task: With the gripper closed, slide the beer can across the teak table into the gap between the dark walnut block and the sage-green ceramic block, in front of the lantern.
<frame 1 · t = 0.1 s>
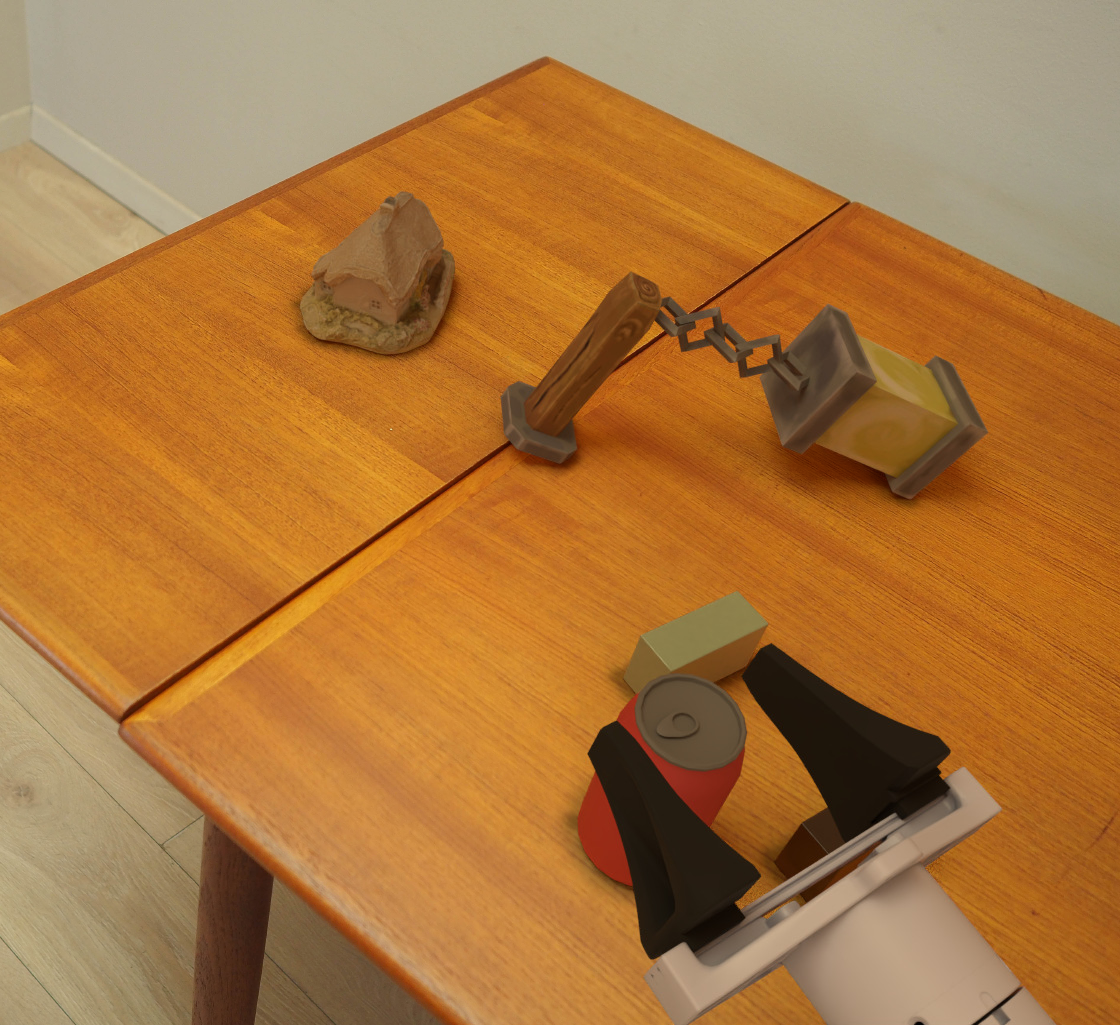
hand: (681, 696, 43), 24 cm above the table, tool horizontal, fingers open, 7 cm apart
walnut block: (841, 852, 66), on the table
beer can: (631, 838, 65), on the table
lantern: (716, 453, 89), on the table
ceramic block: (685, 672, 74), on the table
ceramic model: (379, 307, 97), on the table
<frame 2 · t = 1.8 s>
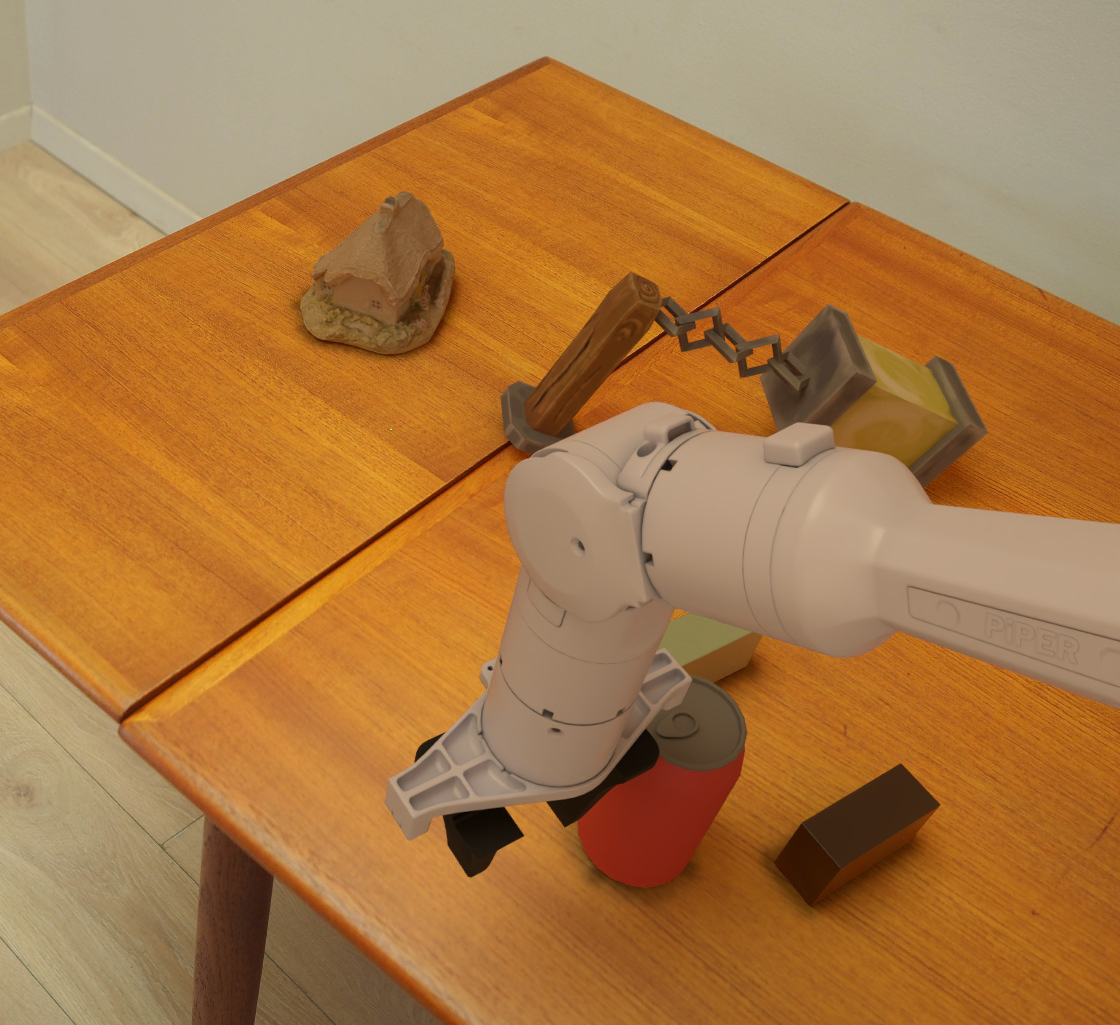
hand: (512, 832, 55), 8 cm above the table, tool pointing down, fingers open, 5 cm apart
nothing on the table moved.
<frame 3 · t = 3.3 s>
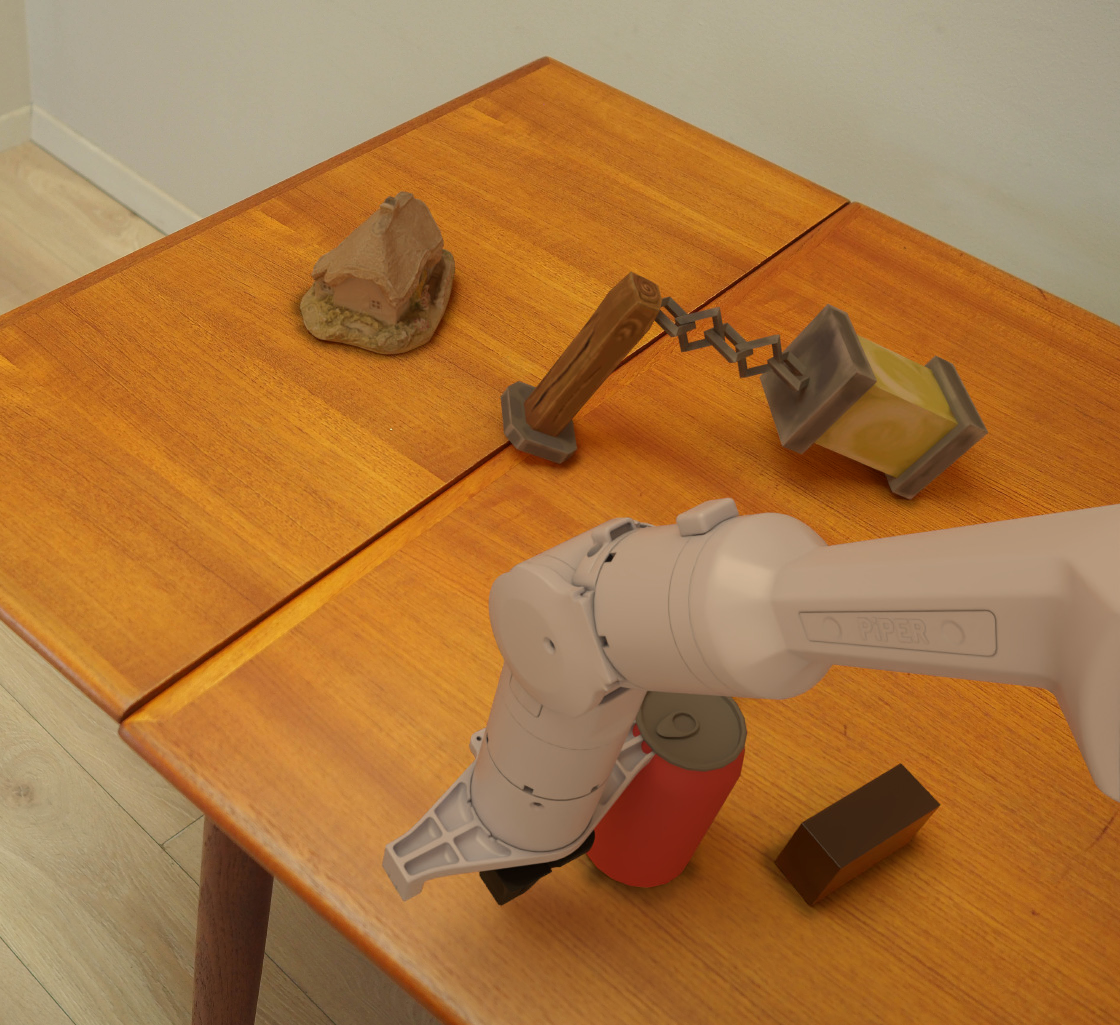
hand: (499, 884, 60), 2 cm above the table, tool pointing down, fingers closed
nothing on the table moved.
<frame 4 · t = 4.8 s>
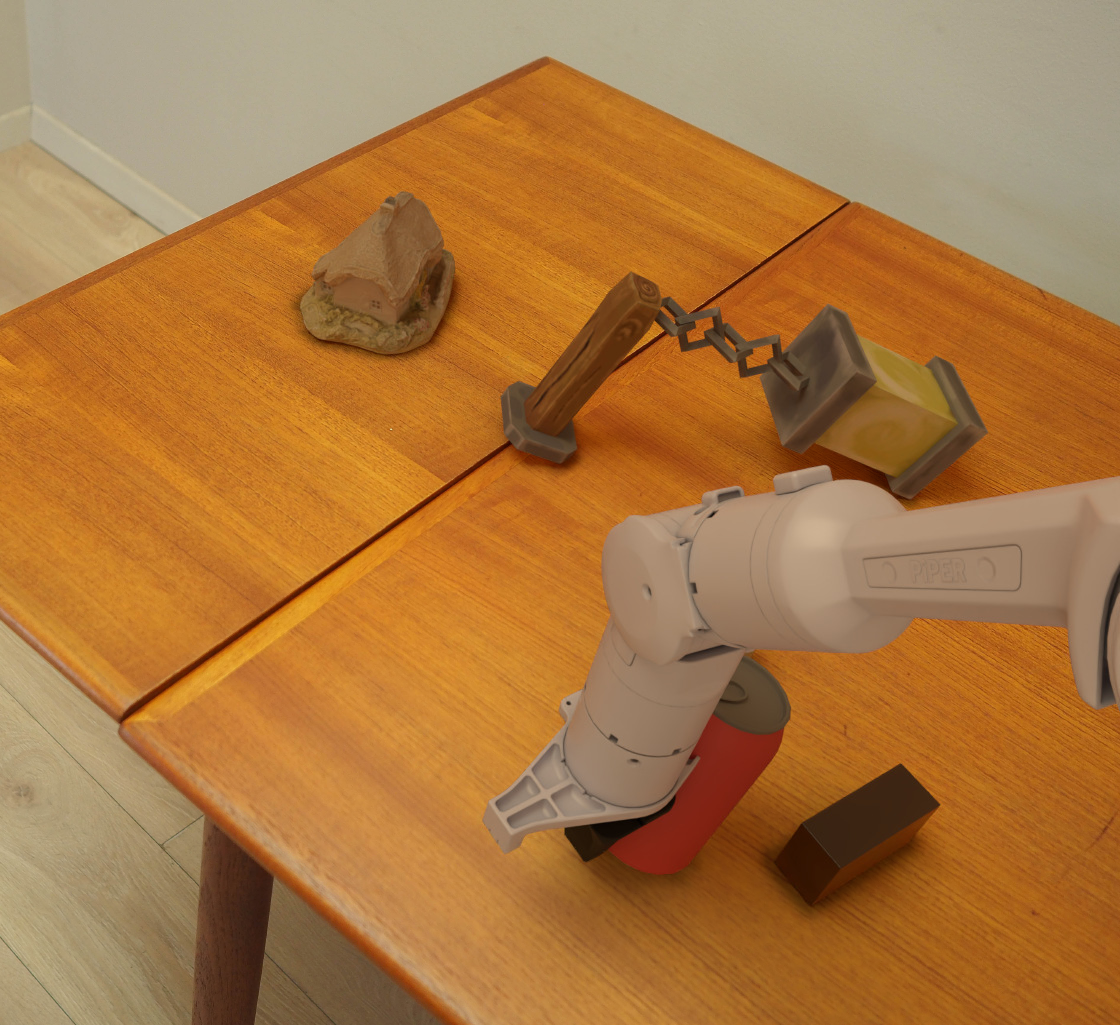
hand: (581, 843, 63), 2 cm above the table, tool pointing down, fingers closed, pressing on beer can
beer can: (635, 831, 65), point 1 cm above the table, touching gripper
everything else where it was.
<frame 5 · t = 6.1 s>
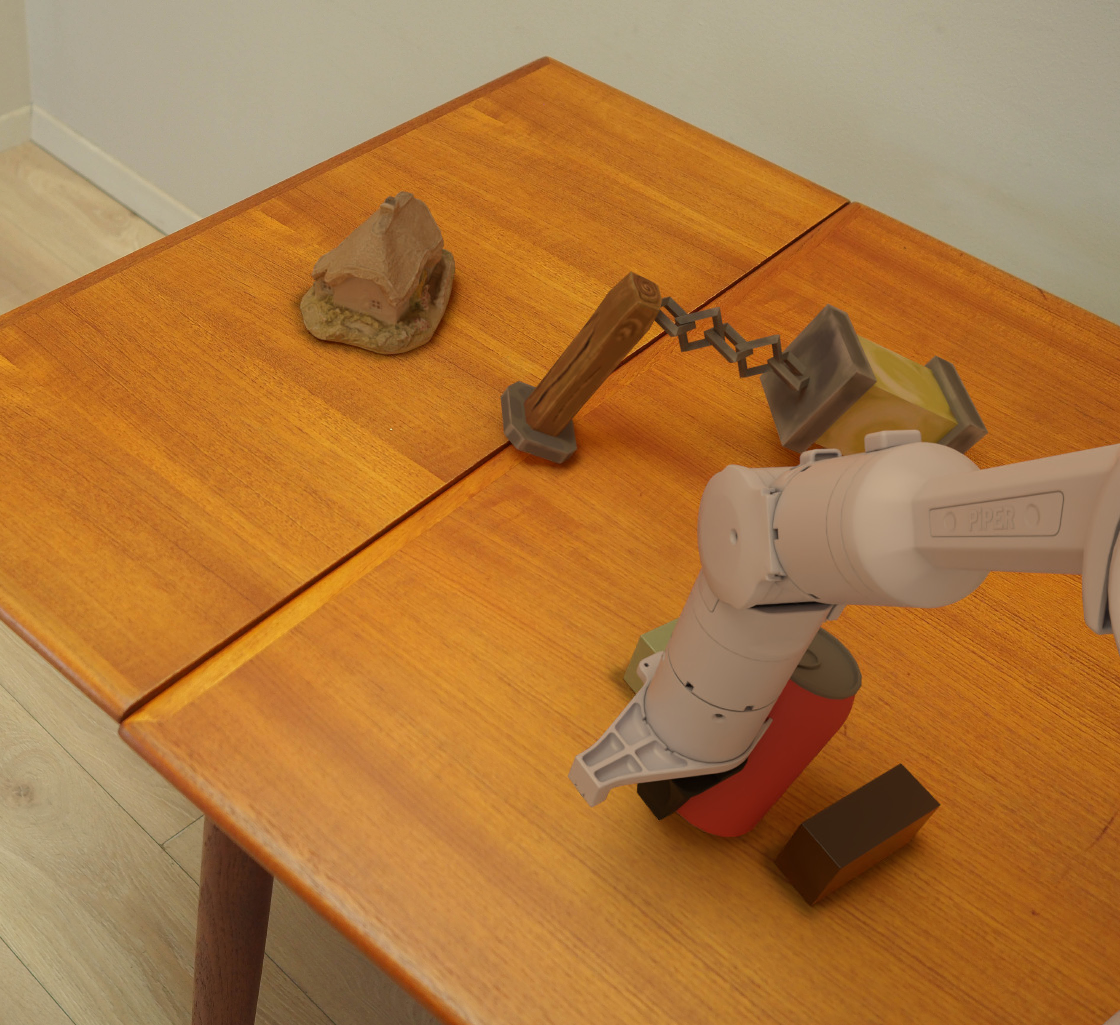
hand: (652, 803, 65), 2 cm above the table, tool pointing down, fingers closed, pressing on beer can
beer can: (701, 795, 67), point 1 cm above the table, touching gripper
everything else where it was.
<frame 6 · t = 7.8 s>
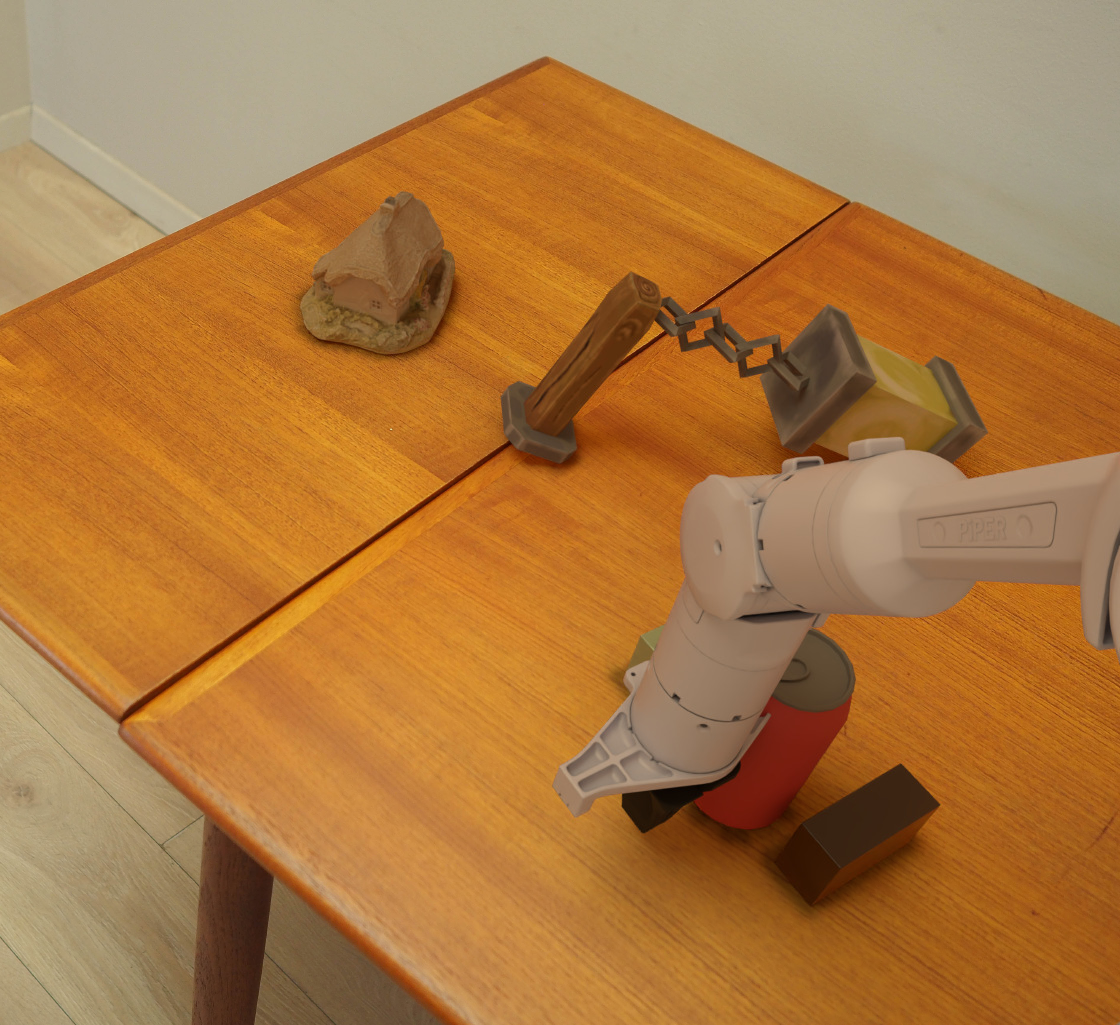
hand: (641, 814, 65), 2 cm above the table, tool pointing down, fingers closed
beer can: (731, 785, 69), on the table
everything else where it was.
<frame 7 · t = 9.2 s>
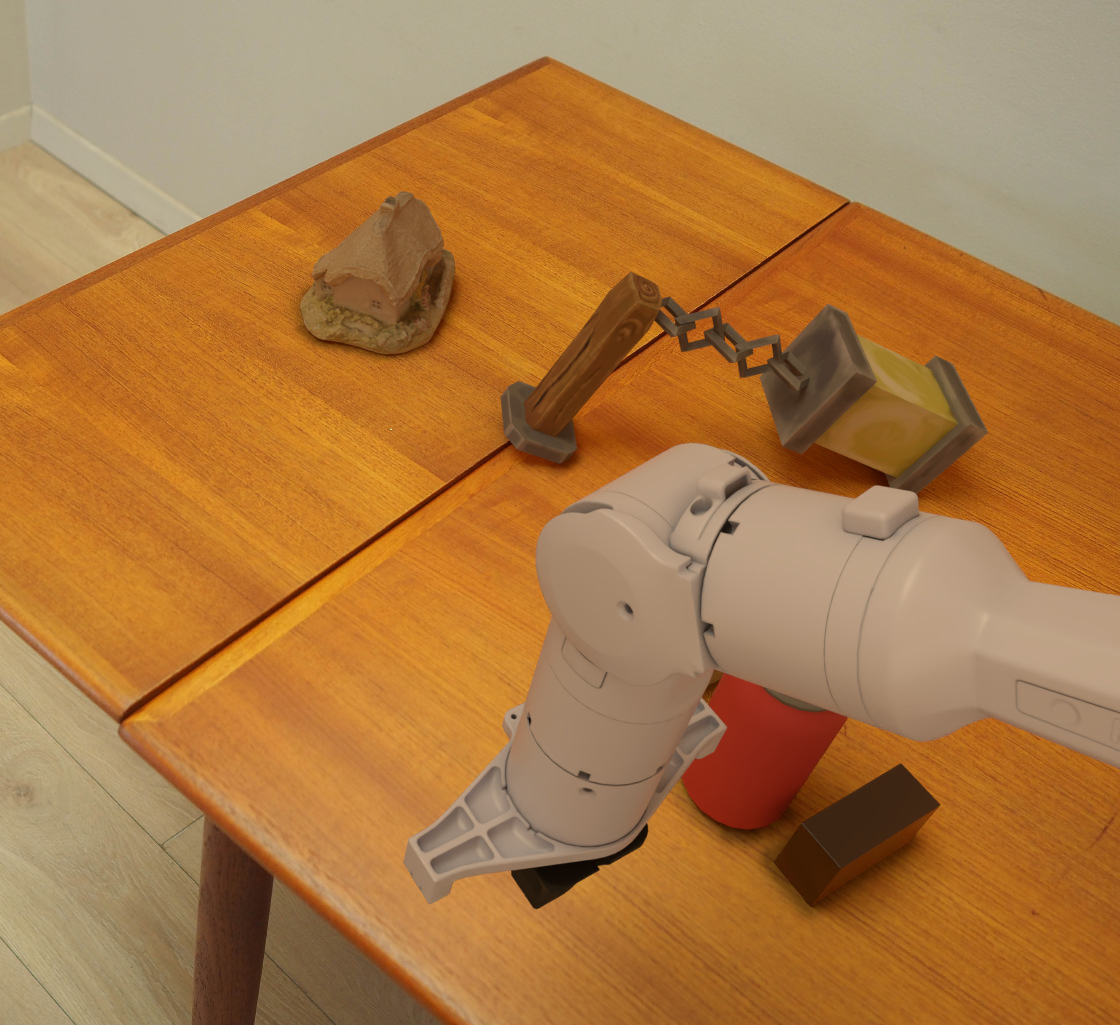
hand: (534, 884, 53), 9 cm above the table, tool pointing down, fingers closed
nothing on the table moved.
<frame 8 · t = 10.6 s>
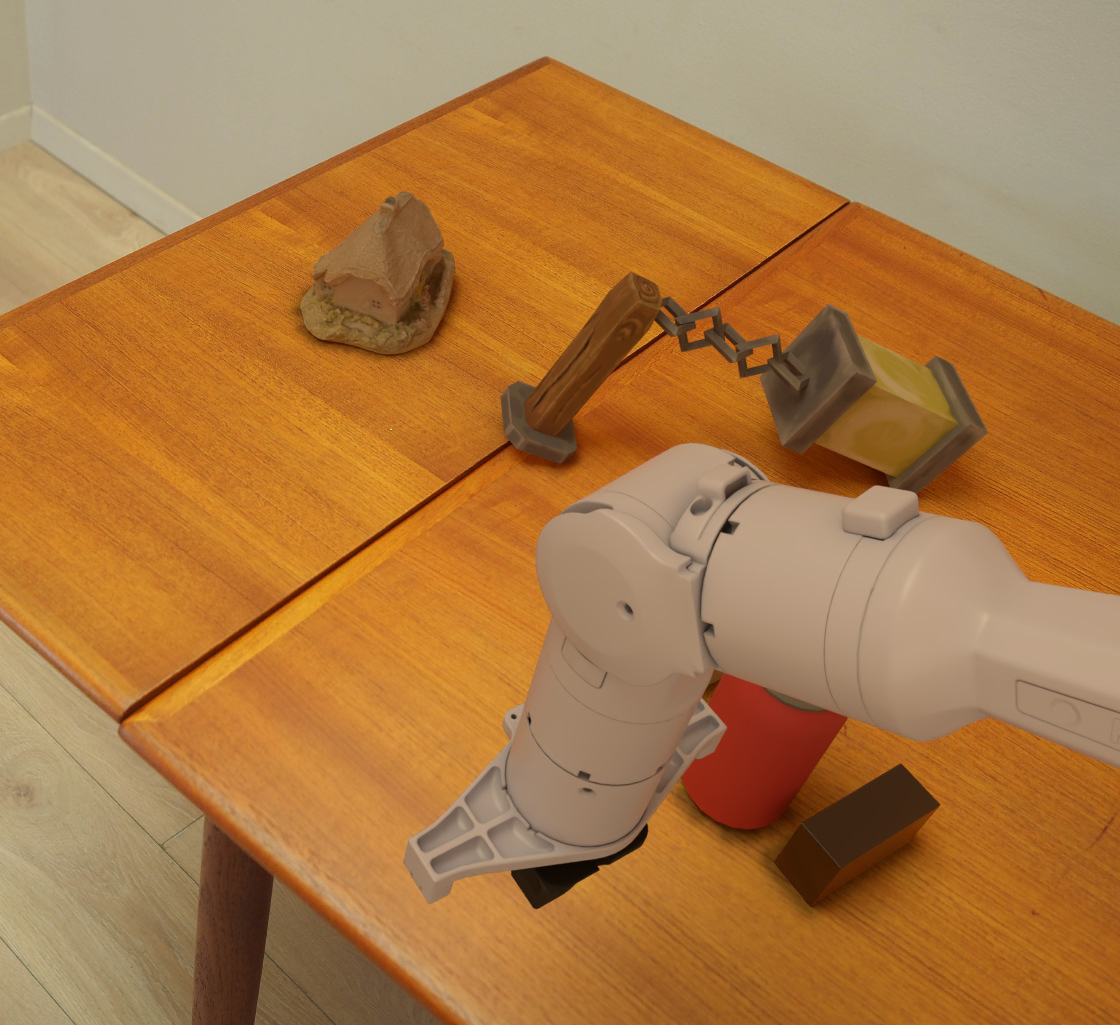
hand: (534, 884, 53), 9 cm above the table, tool pointing down, fingers closed
nothing on the table moved.
at the end: beer can 2.0 cm from the target spot on the table beside the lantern, on the table; beer can tilted 0° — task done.
